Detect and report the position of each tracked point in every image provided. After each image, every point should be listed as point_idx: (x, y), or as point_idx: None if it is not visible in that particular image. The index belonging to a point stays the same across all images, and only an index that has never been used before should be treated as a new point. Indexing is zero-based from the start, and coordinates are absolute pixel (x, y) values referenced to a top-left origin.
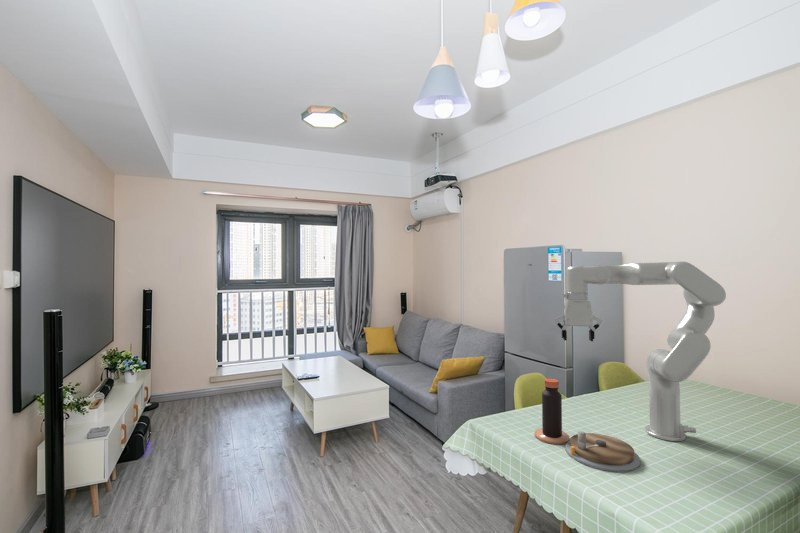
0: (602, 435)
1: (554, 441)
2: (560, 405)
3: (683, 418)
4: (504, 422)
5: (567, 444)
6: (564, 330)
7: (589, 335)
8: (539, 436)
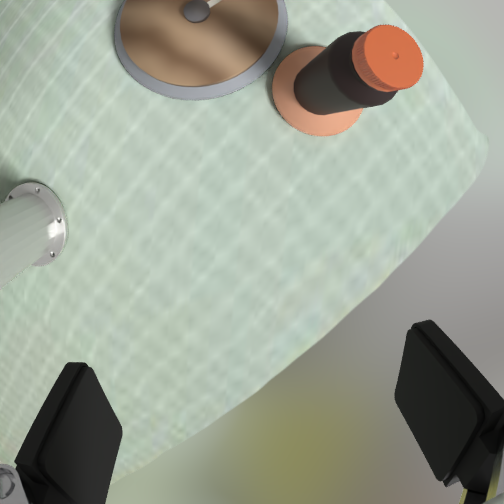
0: (180, 77)
1: (314, 46)
2: (322, 52)
3: (12, 338)
4: (429, 167)
5: (281, 34)
6: (498, 416)
7: (104, 461)
8: None
